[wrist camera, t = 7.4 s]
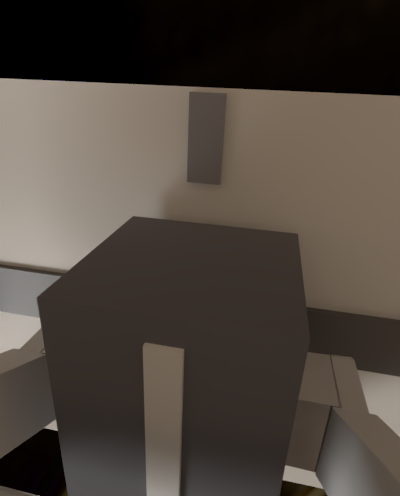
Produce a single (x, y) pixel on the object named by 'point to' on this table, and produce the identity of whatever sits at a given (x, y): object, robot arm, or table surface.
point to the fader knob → (177, 360)
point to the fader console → (212, 198)
